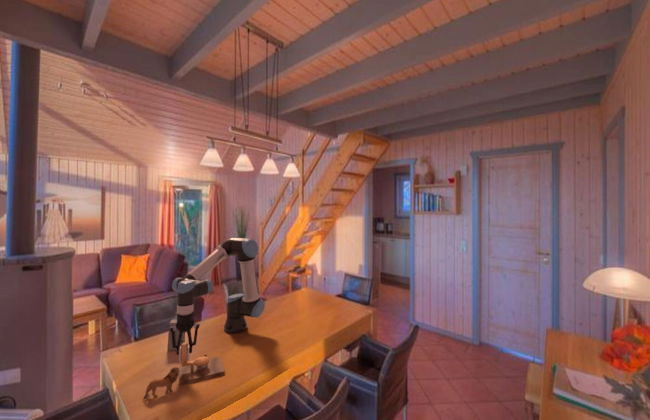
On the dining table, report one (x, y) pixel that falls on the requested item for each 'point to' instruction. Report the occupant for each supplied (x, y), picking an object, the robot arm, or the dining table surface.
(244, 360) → the dining table surface
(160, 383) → the lion figurine
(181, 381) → the board
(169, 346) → the skincare box
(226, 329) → the robot arm
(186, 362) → the tan piece
